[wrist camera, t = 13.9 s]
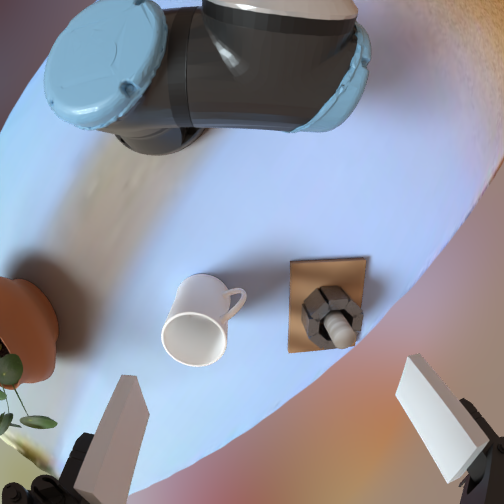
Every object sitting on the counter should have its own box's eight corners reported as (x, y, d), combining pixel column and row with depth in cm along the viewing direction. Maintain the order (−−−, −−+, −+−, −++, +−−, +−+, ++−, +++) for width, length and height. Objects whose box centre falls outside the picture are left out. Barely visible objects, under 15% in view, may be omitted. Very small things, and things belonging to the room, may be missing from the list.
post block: (290, 261, 44) (304, 287, 34) (363, 257, 45) (392, 281, 35) (287, 349, 49) (298, 387, 39) (352, 342, 49) (373, 376, 39)
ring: (302, 287, 44) (310, 301, 39) (353, 284, 44) (365, 297, 40) (300, 334, 47) (306, 351, 42) (348, 329, 47) (358, 345, 42)
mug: (233, 255, 43) (233, 286, 32) (258, 301, 46) (265, 344, 34) (166, 287, 44) (145, 325, 33) (193, 330, 47) (183, 376, 35)
